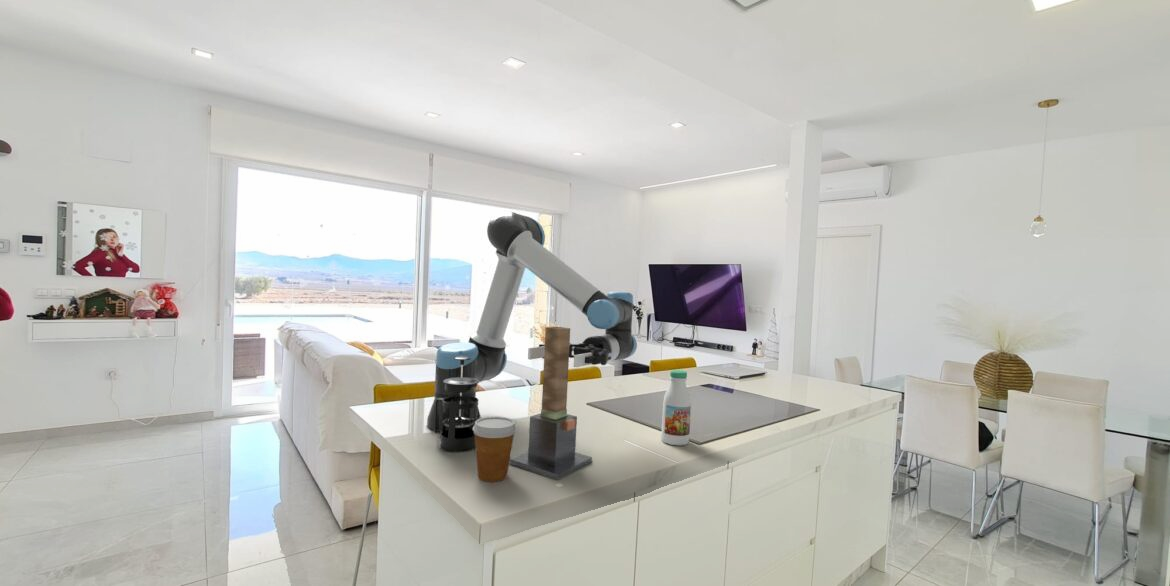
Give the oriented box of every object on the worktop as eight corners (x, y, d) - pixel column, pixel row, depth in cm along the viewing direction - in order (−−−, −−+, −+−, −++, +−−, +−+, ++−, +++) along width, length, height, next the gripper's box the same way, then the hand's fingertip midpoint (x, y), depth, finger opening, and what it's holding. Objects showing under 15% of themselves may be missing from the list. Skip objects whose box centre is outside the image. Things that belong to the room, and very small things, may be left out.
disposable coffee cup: (462, 474, 108) (464, 420, 107) (498, 464, 114) (500, 413, 114) (486, 489, 101) (488, 431, 100) (523, 477, 107) (525, 423, 107)
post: (540, 428, 116) (545, 327, 115) (551, 424, 120) (556, 326, 119) (554, 431, 114) (560, 329, 113) (565, 427, 117) (570, 328, 117)
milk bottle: (655, 440, 138) (659, 369, 137) (672, 435, 143) (676, 367, 143) (677, 448, 132) (681, 374, 132) (694, 443, 137) (698, 372, 137)
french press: (485, 442, 129) (489, 355, 128) (470, 454, 120) (474, 361, 119) (444, 437, 131) (447, 352, 131) (426, 449, 122) (430, 357, 121)
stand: (509, 464, 115) (511, 416, 115) (546, 448, 127) (548, 405, 126) (557, 479, 107) (559, 429, 107) (591, 461, 119) (594, 416, 119)
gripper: (640, 369, 125) (595, 381, 108) (562, 357, 139) (511, 366, 122) (641, 340, 125) (597, 347, 107) (563, 331, 139) (512, 336, 121)
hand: (551, 357), depth 114 cm, fingers open, 13 cm apart
